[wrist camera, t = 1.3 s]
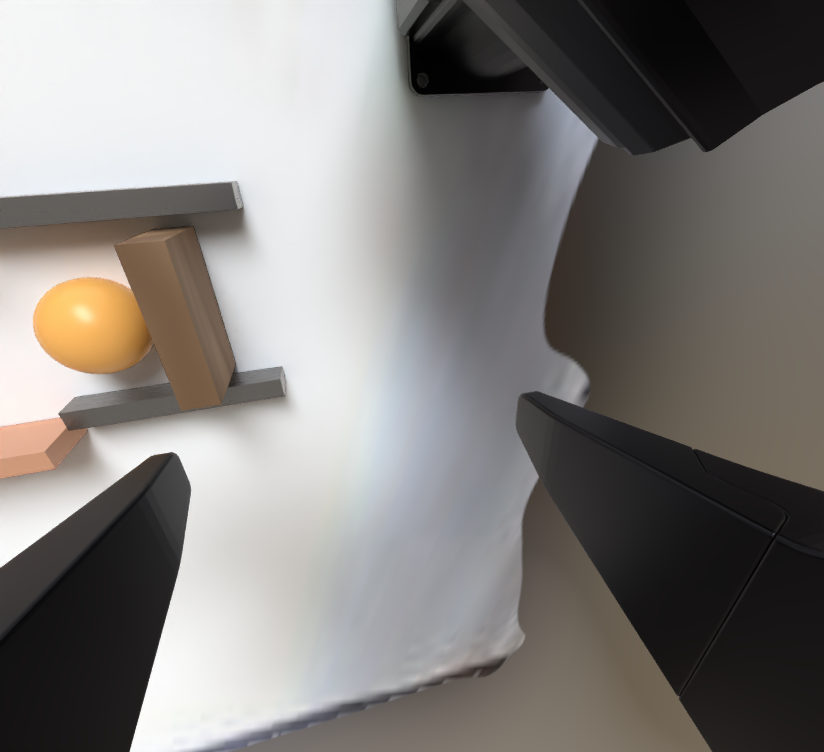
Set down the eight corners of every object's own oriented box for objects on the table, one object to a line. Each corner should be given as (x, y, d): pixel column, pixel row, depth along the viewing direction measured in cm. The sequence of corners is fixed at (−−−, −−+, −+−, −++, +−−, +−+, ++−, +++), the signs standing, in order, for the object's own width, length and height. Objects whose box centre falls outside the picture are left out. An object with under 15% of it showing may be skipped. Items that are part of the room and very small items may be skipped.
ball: (149, 262, 17) (111, 286, 14) (180, 344, 19) (152, 382, 16) (48, 273, 17) (-19, 300, 13) (90, 356, 19) (41, 399, 15)
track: (237, 181, 17) (231, 182, 16) (286, 382, 22) (284, 395, 20) (-35, 199, 15) (-68, 202, 14) (84, 413, 20) (68, 431, 19)
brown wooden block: (193, 225, 17) (164, 240, 14) (235, 364, 20) (221, 404, 17) (153, 228, 17) (113, 245, 13) (203, 369, 20) (181, 410, 17)
